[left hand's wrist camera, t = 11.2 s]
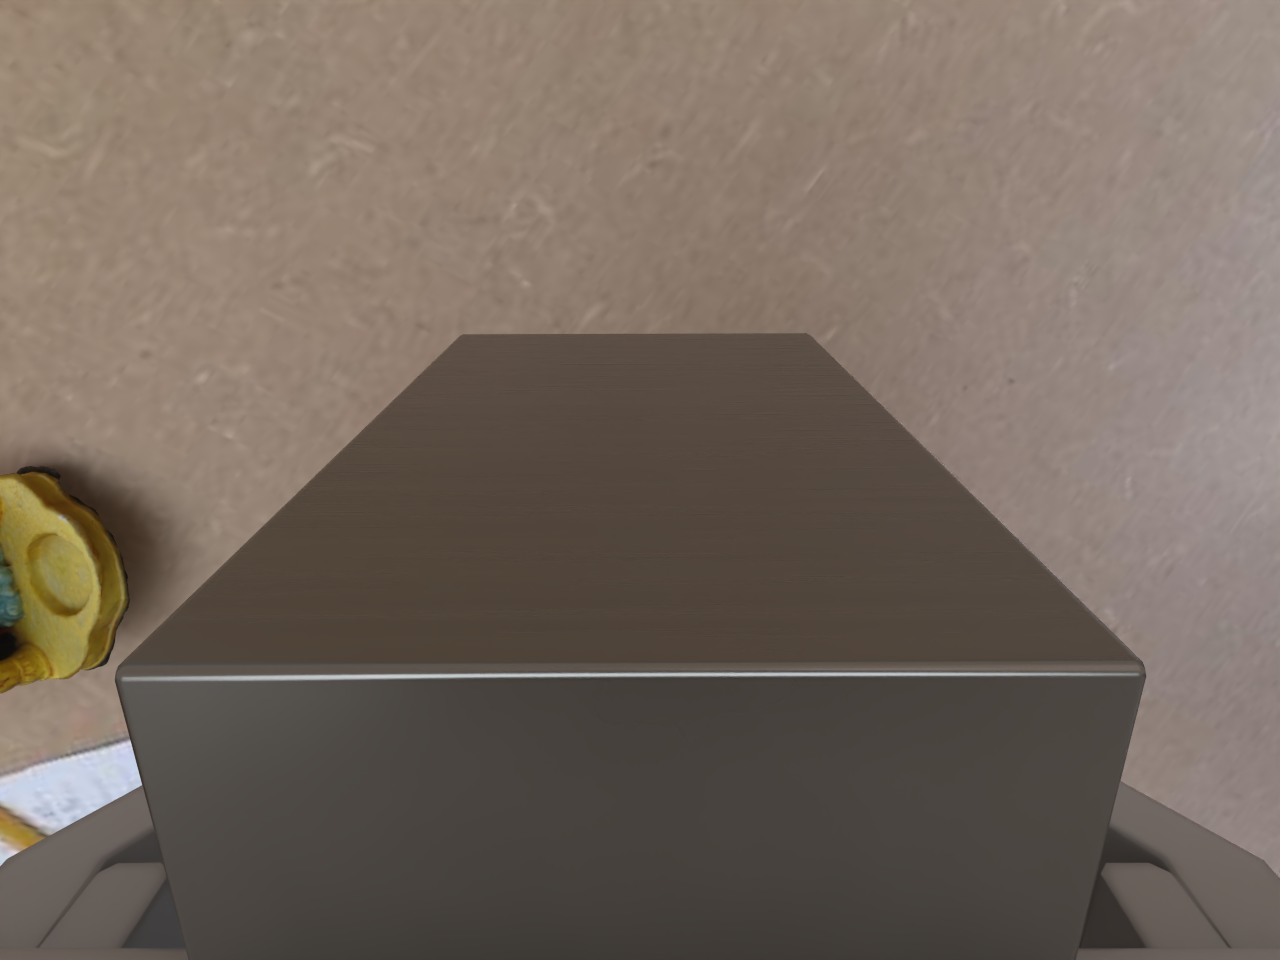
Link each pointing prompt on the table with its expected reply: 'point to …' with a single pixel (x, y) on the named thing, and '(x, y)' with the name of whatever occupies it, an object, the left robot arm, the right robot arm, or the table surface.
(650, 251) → the table surface
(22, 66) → the table surface
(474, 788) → the bar
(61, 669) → the shrine
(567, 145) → the table surface
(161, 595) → the table surface
